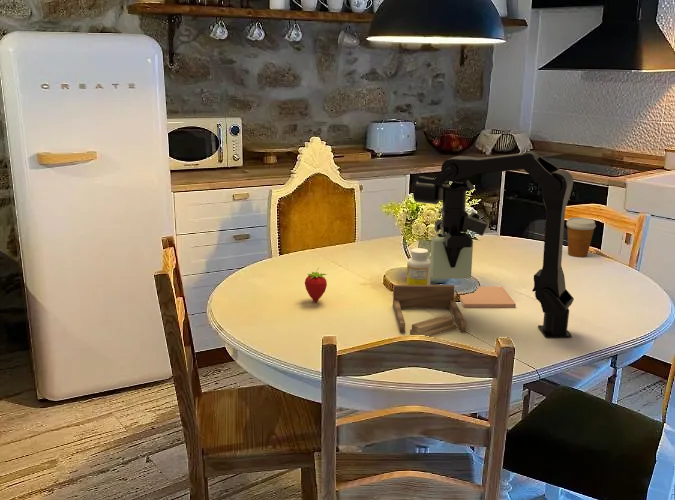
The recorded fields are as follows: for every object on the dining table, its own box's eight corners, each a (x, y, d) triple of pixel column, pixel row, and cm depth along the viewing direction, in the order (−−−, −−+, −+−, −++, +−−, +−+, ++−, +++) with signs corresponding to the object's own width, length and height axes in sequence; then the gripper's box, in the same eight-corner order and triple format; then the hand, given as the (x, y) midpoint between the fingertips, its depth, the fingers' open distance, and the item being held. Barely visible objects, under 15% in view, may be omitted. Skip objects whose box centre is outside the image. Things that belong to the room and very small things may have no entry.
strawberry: (322, 296, 189) (322, 262, 186) (330, 305, 182) (330, 270, 180) (301, 298, 187) (301, 264, 185) (309, 307, 181) (309, 272, 178)
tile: (515, 307, 182) (515, 304, 182) (463, 307, 182) (464, 304, 182) (502, 290, 195) (502, 286, 195) (454, 289, 195) (454, 286, 195)
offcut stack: (456, 330, 168) (457, 319, 167) (417, 340, 162) (418, 328, 161) (447, 325, 171) (448, 314, 170) (409, 334, 165) (409, 323, 164)
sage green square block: (470, 278, 175) (473, 241, 172) (432, 278, 175) (434, 241, 172) (467, 273, 179) (469, 237, 176) (430, 273, 179) (431, 237, 176)
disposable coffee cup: (557, 251, 234) (560, 218, 230) (580, 249, 236) (584, 216, 233) (574, 259, 225) (578, 224, 222) (598, 257, 228) (602, 223, 224)
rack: (465, 332, 165) (467, 309, 164) (400, 332, 165) (400, 309, 163) (452, 305, 183) (453, 285, 181) (392, 305, 182) (393, 284, 181)
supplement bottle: (414, 287, 197) (416, 245, 193) (434, 293, 193) (436, 249, 189) (401, 293, 192) (403, 250, 188) (421, 299, 188) (423, 255, 184)
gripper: (494, 214, 163) (490, 275, 167) (476, 198, 181) (473, 254, 185) (448, 214, 163) (446, 276, 167) (435, 199, 181) (433, 254, 185)
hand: (451, 264), depth 176 cm, fingers closed on sage green square block, 4 cm apart
